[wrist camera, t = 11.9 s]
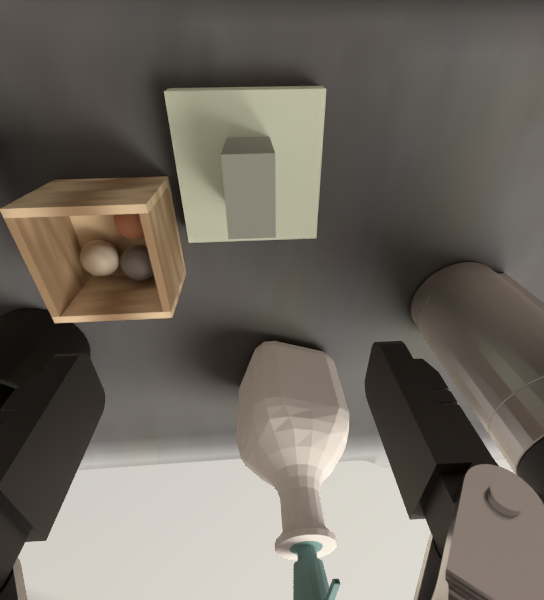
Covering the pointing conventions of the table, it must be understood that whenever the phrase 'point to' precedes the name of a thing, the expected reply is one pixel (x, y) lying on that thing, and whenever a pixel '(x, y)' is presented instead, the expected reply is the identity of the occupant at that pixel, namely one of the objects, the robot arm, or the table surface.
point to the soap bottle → (295, 449)
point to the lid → (248, 160)
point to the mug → (33, 346)
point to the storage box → (101, 247)
